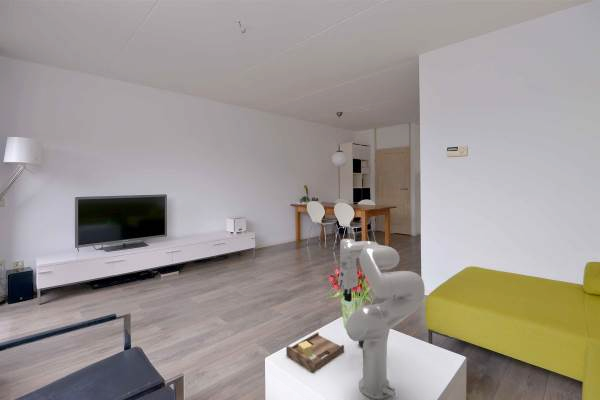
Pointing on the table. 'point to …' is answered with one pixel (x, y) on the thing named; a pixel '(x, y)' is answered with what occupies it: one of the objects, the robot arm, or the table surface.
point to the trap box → (315, 352)
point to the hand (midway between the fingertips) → (347, 300)
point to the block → (305, 348)
